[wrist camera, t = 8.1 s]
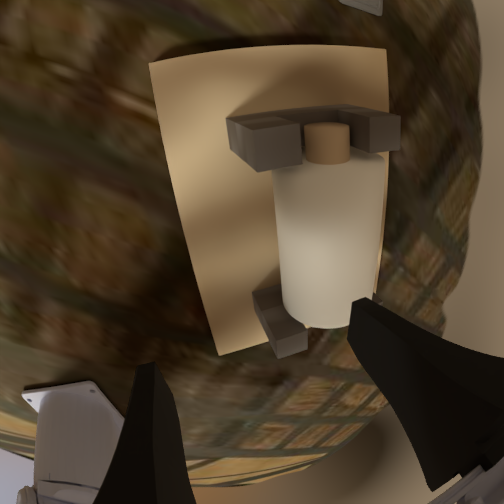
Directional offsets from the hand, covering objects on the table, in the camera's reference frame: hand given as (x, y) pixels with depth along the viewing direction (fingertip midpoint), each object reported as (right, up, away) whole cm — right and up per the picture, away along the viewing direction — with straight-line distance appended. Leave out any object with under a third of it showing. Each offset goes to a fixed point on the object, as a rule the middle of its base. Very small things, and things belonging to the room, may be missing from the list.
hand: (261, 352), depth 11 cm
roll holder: (+2, +6, +8) cm, 11 cm away
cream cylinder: (+4, +4, +5) cm, 7 cm away
